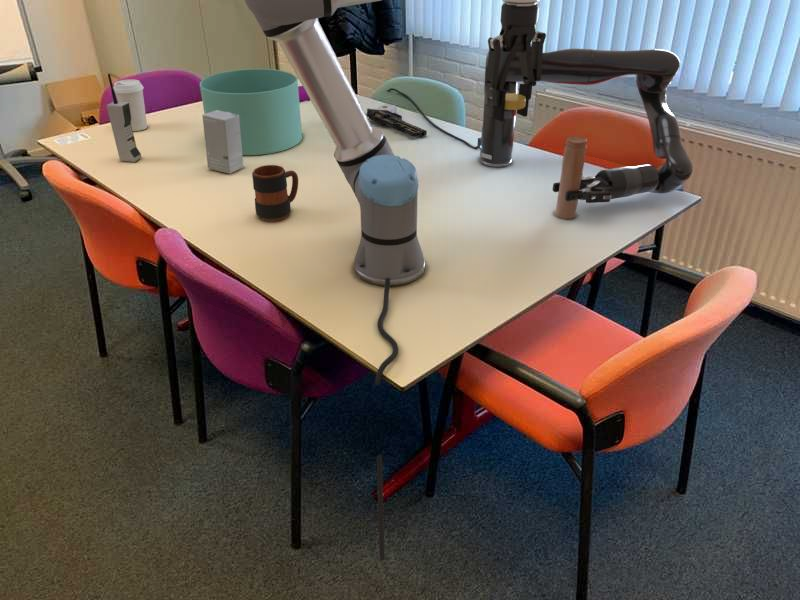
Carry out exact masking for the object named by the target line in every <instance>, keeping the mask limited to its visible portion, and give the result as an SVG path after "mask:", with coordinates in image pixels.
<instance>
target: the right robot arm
mask: <svg viewBox="0 0 800 600" xmlns="http://www.w3.org/2000/svg"><path fill="white" fill-rule="evenodd" d="M501 44H502V43H501ZM502 45H503V44H502ZM501 48H502V47H501ZM507 52H508V51H507ZM508 53H510V52H508ZM488 56H489V51H487V54H486V57H485V68H484V83H483V84H484V88H483V93H484V97H483V98H484V100H483V101H484V102H483V118H482V127H481V135H480V136H481V137H478V138H477V145H476V146H473V145H472V144H470V143H469V142H467V141H466V140H464V139H462V138H460V137H458V136H456V135H453V134H452V133H450V132H448V131H446V130H444V129H443V128H441V127H440V126H438V125H436V124H435V123H434V122H433V121H432V120H430V119H429V118H428V117H427V115H426V114H425V113H424V112H423V111H422V109H421V108H420V107H419V106H418V105H417V103H416V102H415V101H414V100H413V99H412V98H411V97H410V96H408V94H406V93H404V92H402V91H400V90H399V89H396V88H394V87H393V88H392V87H391V88H389V89H387V92H388V93H389V92H390V91H393V92H395V93H399V95H402V96H404V97H405V98H406V99H407V100H408V101H410V102H411V103H412V104H413V105H414V107H416V109H417V110H418V111H419V113H420V114H421V116H422V117H423V118H424V119H425V120H426V121H427V123H429V124H430V125H432V126H433V127H434V128H435V129H436V130H438V131H440V132H442V133H443V134H444V135H447V136H449V137H451V138H452V139H455V140H457V141H459V142H462V143H464V144H465V145H466V146H468V147H469V148H471V149H474V150H479V162H480V163H481V164H482V165H483V166H487V167H492V168H503V167H508V166H510V165H512V162H513V161H512V160H513V150H514V148H513V147H514V138H515V128H516V120H517V119H516V118H517V110H508V109H504V121H498V120H496V119H494V118H493V114H494V105H493V104H492V98H493V89H492V88H489V87H487V86H486V85H485V82H486V73H487V64H488ZM500 57H501V56H500ZM680 67H681V61H680V59H679V56H677V55H676V54H675V53H673V52H672V51H669V50H665V49H638V50H607V49H605V50H603V49H602V50H601V49H593V48H563V49H559V50H553V51H549V52H548V51H547V52H543V56H542V70H541V79H540V81H539V82H544V83H545V82H546V83H552V84H564V85H577V86H594V85H597V84H601V83H604V82H608V81H610V80H613V79H617V78H619V77H623V76H633V75H635V84H636V88H637V91H638V94H639V96H640V99H641V101H642V105H643V107H644V110H645V113H646V117H647V120H648V124H649V129H650V135H651V141H652V143H651V144H652V149H653V153H654V155H655V157H656V158H658V159H659V160H660V159H661V160H665V162H664V163H663V164H661V165H660V166H659V167H658V168H656V167H655V166H654V165H652V164H640V165H633V166H620V167H613V168H607V169H606V168H605V169H601V170H599V171H598V172H597V173H596V174H595V175H594V176H583V175H584V172H583V173H582V180H581V186H580V190H574V191H568V192H566V193H565V200H566V201H572V200H578V201H579V200H580V201H581V202H582V201H585V203H586V204H598V203H610V202H611V200H615V199H621V198H626V197H631V196H634V195H639V194H645V193H650V194H661V195H662V194H668V193H672V192H673V191H675V190H677V189H678V188H679V187H680V186H681V185H683V184H684V183H686V181H688V180H689V179H690V178H691V176H692V175H693V168H694V165H693V162H692V160H691V157H690V156H689V154H688V152H687V150H686V148H685V147H684V145H683V140H682V135H681V129H680V125H679V122H678V119H677V118H676V116H675V114H673V112H671V110H670V109H669V107H668V104H667V88H668V87H669V86H670V84H671V83H672V82H673V80H674V78H675V77H676V75H677V73H678V72H679V69H680ZM535 74H536V73H535ZM520 82H522V83H523V79H522V72H521V65H520V58H519V54H518V52H517V53H516V54H515V57H514V58H513V59H512V62H511V65H510V68H509V71H508V75H507V78H506V81H505V84H504V87H503V90H506V94H508V93H513V94H519V92H518V83H520ZM498 84H499V83H498ZM559 184H560V181H558V182H554V183H553V184H552V192H554V193H558V191H559Z"/></svg>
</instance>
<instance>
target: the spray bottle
mask: <svg viewBox="0 0 800 600" xmlns="http://www.w3.org/2000/svg"><path fill="white" fill-rule="evenodd" d="M298 92H299V102H302V101H308V100H310V98H309V96H308V94H307V93H306V91H305V89H304V87H303V85H298Z"/></svg>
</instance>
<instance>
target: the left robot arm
mask: <svg viewBox="0 0 800 600" xmlns="http://www.w3.org/2000/svg"><path fill="white" fill-rule="evenodd" d="M381 1H382V0H244V2H245V4H246V6H247V8H248V10H249V11H250V12H251V13H252V15H253V16H254V18H255V20H256V21H257V23H258V25H259V27H260V28H261V31H262V32H263V34H264V36H265V37H266V39H269V40H272V41H274V42H277V43H278V44H279V46H280V48H281V49H282V51H283V53H284V55H285V57H286V58H287V60H288V62H289V64H290V66H291V68H292V69H293V70H294V73H295V76H296V77H297V79H298V80H299V82H300V84H301V86H303V87H304V89H305V91H306V93H307V94H308V96H309V98H310V99H309V100H310V102H311V104H312V106H313V107H314V109H315V111H316V112H317V114H318V116H319V118H320V120H321V121H322V123H323V125H324V127H325V128H326V131H327V132H328V134H329V136H330V137H331V140H332V141H333V143H334V145H335V149H334V153H333V157H334V159H335V161H336V163H337V165H338V166H339V168H340V170H341V171H342V173H343V175H344V178H345V181H347V183H348V184H349V186H350V188H351V189H352V192H353V194H354V196H355V198H356V200H357V202H358V204H359V209H360V211H359V212H360V239H359V242H358V247H357V249H356V252H355V256H354V259H353V270H354V273H355V275H356V276H357V277H358V278H359V279H360V280H362V281H364V282H366V283H369V284H370V285H371V284H372V285H376V286H382V287H384V289H383V290H384V291H383V292H384V293H383V302H382V303H383V304H382V310H381V313H380V314H379V317H378V319H377V325H376V326H377V330H378V332H379V333H380V335H381V336H382V338H384V340H386V341H387V342H388V343H389V344H390V346H391V347H392V352H391V354H389V356H388V357H387V358H386V359H385V360H384V361H382V363H381V364H380V366H379V367H378V369H377V371H376V375H375V379H374V385H375V386H379V385H381V383H382V376H383V374H384V371H385V370H386V368H387V367H389V365H390V364H391V363H392V362H393V361H394V360H395V359H396V358H397V356H398V354H399V345H398V343H397V342H396V340H395V339H394V338H393V336H392V335H390V334H389V333H388V332H387V331H386V330H385V328H384V320H385V317H386V315H387V313H388V310H389V302H390V301H389V299H390V287H395V286H402V285H406V284H410V283H413V282H415V281H417V280H418V279H420V278H421V276H423V274H424V273H425V270H426V261H425V255H424V252H423V250H422V247H421V244H420V241H419V238H418V195H419V194H418V191H419V187H420V186H419V185H420V184H419V178H418V171H417V168H416V167H415V165H414V164H413V163H412V162H411V161H410V160H408V159H406V158H401V156H398V155H395V153H394V152H393V150H392V148H391V146H390V144H389V142H388V140H387V138H386V136H385V134H384V132H383V130H382V129H381V128H378V127H375V126H372V124H371V122H370V119H369V118H368V117H367V113H366V111H365V110H364V107H363V106H362V105H361V102H360V100H359V98H358V96H357V94H356V93H355V92H356V91H355V90H354V89H353V86H352V85H351V83H350V80H349V78H348V77H347V74H346V72H345V70H344V69H343V66H342V65H341V63H340V61H339V59H338V57H337V54H336V52H335V51H334V49H333V46H332V45H331V43H330V41H329V39H328V37H327V35H326V33H325V31H324V29H323V27H322V25H321V24H320V21H319V19H321V18H326V17H331V16H333V15H334V14H335V12H336V11H337V9H339V8H345V7H353V6H357V5H362V4H368V3H375V2H381ZM502 2H504V3H502V4H501V7H500V24H501V29H500V32H499V35H497V36H495V37H489V38H488V39H487V45H488V52H489V56H488V64H487V73H486V82H485V81H484V84H485V85H486V86H487V87H489V88H492V89H493V98H492V104H493V105H494V114H493V118H494V119H496V120H498V121H504V109H505V98H506V90H503V87H504V84H505V81H506V78H507V75H508V71H509V68H510V65H511V62H512V59H513V58H514V57H515V54H516V53H517V52H518V54H519V58H520V65H521V72H522V79H523V81H522V83H519V85H518V94H520V95H523V96H525V97H526V105H525V107H524V108H522V109H518V110H516V115H519V116H521V117H524V118H526V117H528V112H529V103H530V100H531V99H532V92H533V87H536V86H537V82H541V81H540V79H541V70H542V56H543V53H544V44H545V41H546V37H547V33H546V32H542V31H538V30H537V29H536V25H537V24H538V21H539V13H540V6H539V4H537V3H539V2H540V0H502ZM501 43H502V44H503V45H502V44H501ZM501 47H502V48H501ZM507 51H508V52H510V53H508V52H507ZM500 56H501V57H500ZM535 73H536V74H535ZM498 83H499V84H498ZM376 479H377V482H376V484H377V513H378V543H379V544H378V547H379V549H378V550H379V560H380V561H381V562H383V561H385V527H384V524H385V523H384V522H385V521H384V492H383V491H384V483H383V454H378V455H376Z"/></svg>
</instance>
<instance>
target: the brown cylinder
mask: <svg viewBox="0 0 800 600" xmlns="http://www.w3.org/2000/svg"><path fill="white" fill-rule="evenodd" d="M587 142H588V140H587V138H585V137H583V136H577V135H575V136H568V137H567V139H566V142H565V145H564V150H563V157H562V164H561V171H560V177H559V182H560V184H559V191H558V192H557V199H556V206H555V213H554V214H555V215H554V216H556V217H557V218H559V219H564V220H572V219H575V218H576V216H577V210H578V203H579V199H578V200H572V201H566V200H565V193H566V192H568V191H574V190H580V186H581V180H582V173H583V174H584V166H585V161H586V154H587V149H588V148H587V144H588V143H587Z"/></svg>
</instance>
